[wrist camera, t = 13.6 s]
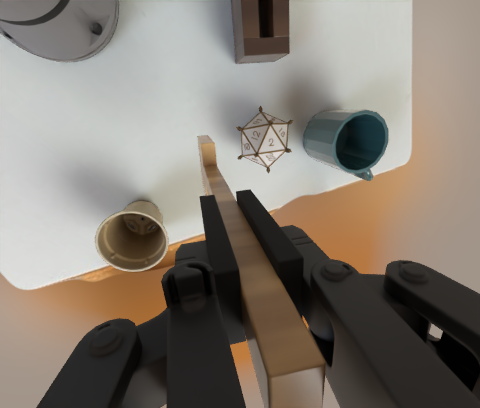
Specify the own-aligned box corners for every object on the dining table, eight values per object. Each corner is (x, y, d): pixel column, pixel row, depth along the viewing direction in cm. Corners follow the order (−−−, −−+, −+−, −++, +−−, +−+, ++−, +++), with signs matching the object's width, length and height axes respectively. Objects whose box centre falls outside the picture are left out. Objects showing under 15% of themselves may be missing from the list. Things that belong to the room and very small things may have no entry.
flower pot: (157, 250, 45) (151, 280, 37) (103, 230, 42) (83, 258, 34) (181, 206, 43) (180, 228, 35) (126, 181, 40) (111, 199, 32)
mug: (294, 130, 42) (322, 136, 34) (336, 99, 42) (375, 96, 33) (323, 183, 47) (355, 199, 38) (361, 155, 46) (402, 166, 38)
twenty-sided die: (263, 135, 45) (310, 155, 40) (230, 166, 43) (276, 191, 37) (252, 89, 38) (308, 106, 33) (213, 123, 36) (266, 147, 30)
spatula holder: (274, 61, 38) (289, 53, 32) (235, 64, 37) (244, 56, 32) (272, -22, 34) (288, -47, 29) (229, -21, 33) (237, -47, 28)
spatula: (213, 183, 30) (318, 466, 6) (202, 184, 30) (271, 481, 6) (208, 135, 28) (336, 275, 4) (197, 136, 28) (265, 289, 4)
